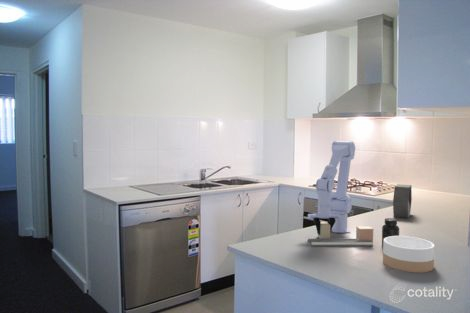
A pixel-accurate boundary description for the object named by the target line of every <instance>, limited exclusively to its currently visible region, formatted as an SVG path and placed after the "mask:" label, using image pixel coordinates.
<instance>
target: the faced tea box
mask: <svg viewBox="0 0 470 313" xmlns="http://www.w3.org/2000/svg"><path fill="white" fill-rule="evenodd" d="M355 232H356V233H355V239H356V241H373V242H374V228H373V227H371V226H370V225H369V226H365V225H364V226H359V225H358V226H356V231H355Z"/></svg>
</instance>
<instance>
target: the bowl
mask: <svg viewBox="0 0 470 313" xmlns="http://www.w3.org/2000/svg"><path fill="white" fill-rule="evenodd" d="M435 247H436V246H435V244H434V242H432V241H430V240H427V239H424V238H420V237H416V236H408V235H399V236H389V237H386V238H384V240H383V247H382V253H383V254H382V262H383V264H384V265H386V266H387V267H389V268H392V269H395V270H398V271H401V272H408V273H427V272H431V271H433V270H434V267H435V266H434V265H435V250H436V248H435Z"/></svg>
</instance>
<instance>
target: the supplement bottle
mask: <svg viewBox="0 0 470 313" xmlns="http://www.w3.org/2000/svg"><path fill="white" fill-rule="evenodd" d="M389 236H400V227H399V226H398V219H397V218H395V217H393V218H392V217H387V218H384V224H383V225H382V227H381V246H382V248H383V240H384V238H386V237H389Z"/></svg>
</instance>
